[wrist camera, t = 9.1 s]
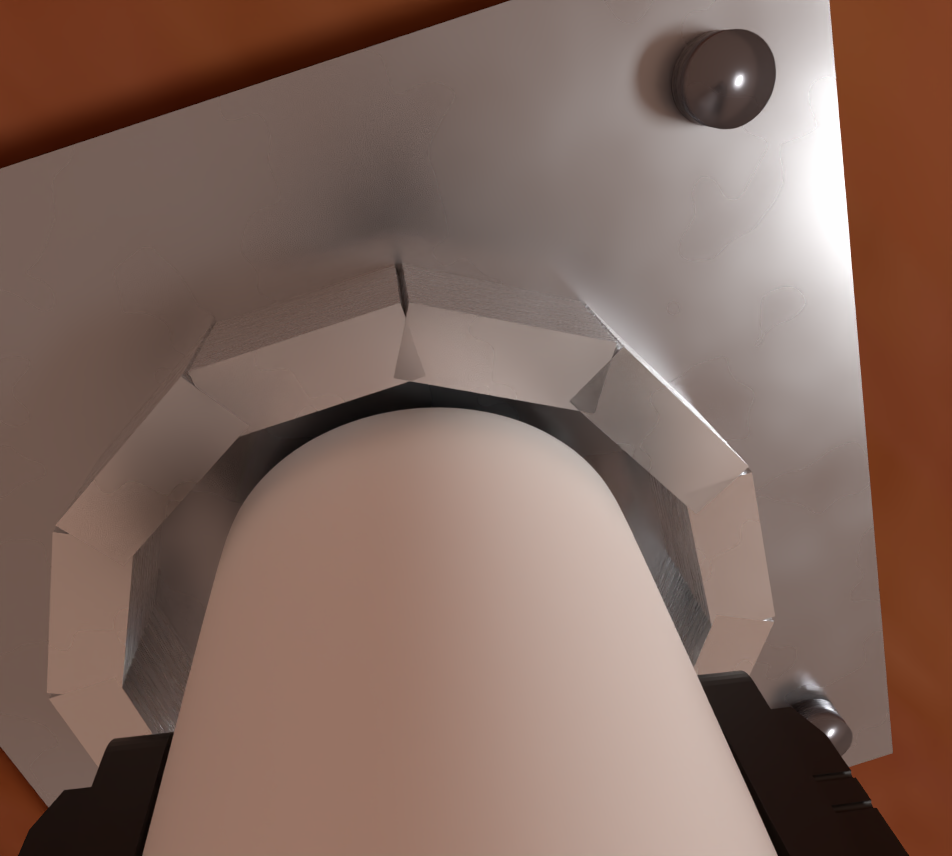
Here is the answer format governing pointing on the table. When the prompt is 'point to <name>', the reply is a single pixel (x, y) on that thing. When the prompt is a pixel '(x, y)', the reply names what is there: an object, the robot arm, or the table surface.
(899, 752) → the table surface
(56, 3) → the table surface
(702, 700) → the can
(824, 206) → the duct flange
